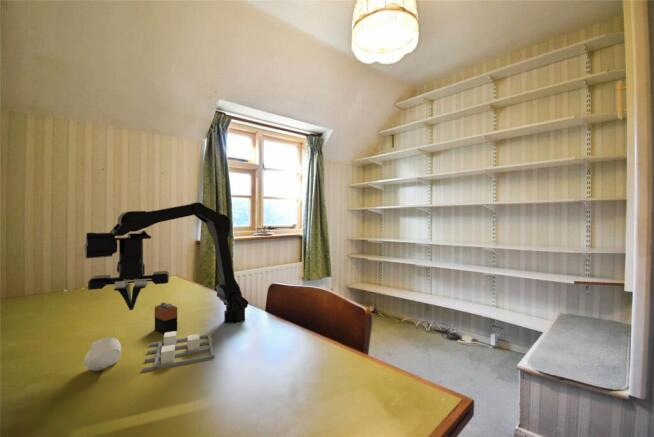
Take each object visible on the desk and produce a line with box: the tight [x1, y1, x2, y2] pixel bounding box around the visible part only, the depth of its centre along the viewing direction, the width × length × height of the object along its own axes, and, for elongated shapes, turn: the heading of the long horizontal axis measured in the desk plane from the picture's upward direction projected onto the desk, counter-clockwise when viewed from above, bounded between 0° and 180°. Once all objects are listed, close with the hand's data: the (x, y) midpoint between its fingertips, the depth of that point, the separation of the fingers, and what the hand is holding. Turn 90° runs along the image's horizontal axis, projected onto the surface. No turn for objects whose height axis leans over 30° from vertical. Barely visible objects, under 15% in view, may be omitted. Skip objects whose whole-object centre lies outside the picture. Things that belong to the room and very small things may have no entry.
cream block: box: [160, 345, 176, 364], centre depth 77 cm, size 3×4×4 cm
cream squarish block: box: [163, 331, 177, 346], centre depth 86 cm, size 3×4×4 cm
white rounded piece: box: [83, 336, 122, 372], centre depth 76 cm, size 8×8×8 cm
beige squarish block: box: [187, 333, 201, 351], centre depth 84 cm, size 3×4×4 cm
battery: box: [154, 302, 178, 335], centre depth 97 cm, size 4×7×10 cm, turn 55°
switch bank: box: [141, 333, 215, 373], centre depth 82 cm, size 18×16×2 cm
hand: (131, 309), depth 85 cm, fingers closed
